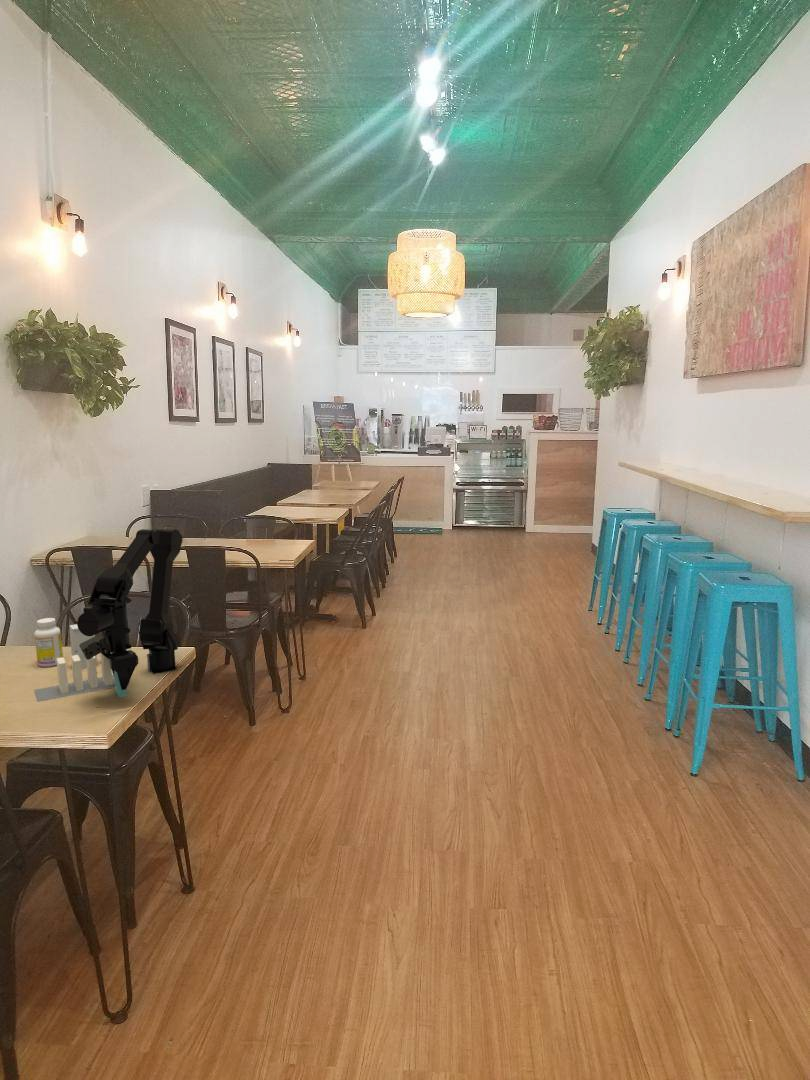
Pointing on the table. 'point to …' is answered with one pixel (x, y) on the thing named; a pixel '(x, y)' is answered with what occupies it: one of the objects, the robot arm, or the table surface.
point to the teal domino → (119, 687)
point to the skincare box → (76, 640)
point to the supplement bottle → (48, 642)
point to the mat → (69, 690)
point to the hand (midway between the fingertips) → (120, 683)
